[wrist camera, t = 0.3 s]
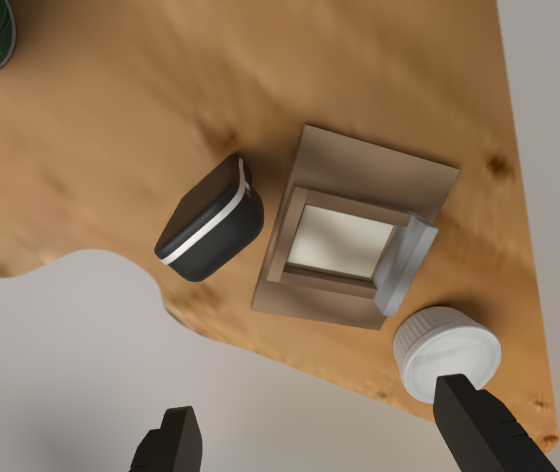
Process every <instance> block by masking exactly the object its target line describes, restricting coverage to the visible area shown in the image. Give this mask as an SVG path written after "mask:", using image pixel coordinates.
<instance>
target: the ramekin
mask: <svg viewBox="0 0 560 472" xmlns="http://www.w3.org/2000/svg"><path fill="white" fill-rule="evenodd" d="M501 352H502V351H501V345H500V341H499V340H498V338H497V337H496V336H495V335H494V333H493V332H491V331H490V330H489V329H488V328H487V327H485V326H483V325H481V324H478V323H477V322H475V321H474V320H472V319H471V318H469V317H468V316H466V315H465V314H463V313H462V312H460V311H458V310H456V309H454V308H450V307H439V306H438V307H430V308H426V309H423V310H420V311H418V312H416V313H414V314H413V315H411V316H410V317H408V318H407V319H406V320H405V321H404V322H403V323H402V324H401V325H400V327H399V328H398V330H397V332H396V334H395V337H394V341H393V353H394V357H395V360H396V363H397V365H398V368H399V371H400V375H401V380H402V383H403V385H404V387H405V388H406V390H407V391H408V393H409V394H410V395H411V396H413V397H414V398H415V399H417V400H419V401H422V402H425V403H431V404H434V395H435V387H436V379H437V377H438V376H443V375H451V374H459V373H462V374H464V375H465V376H466V377H467V378H468V379H469V380H470V382H471V383H472V384H473V386H474V387H475V388H476V390H479V389H480V388H482V387H483V386H484V385H485V384H486V383H487V382H488V381H489V379H491V377H492V376H493V375H494V373H495V372H496V370H497V368H498V366H499V363H500V360H501Z"/></svg>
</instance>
